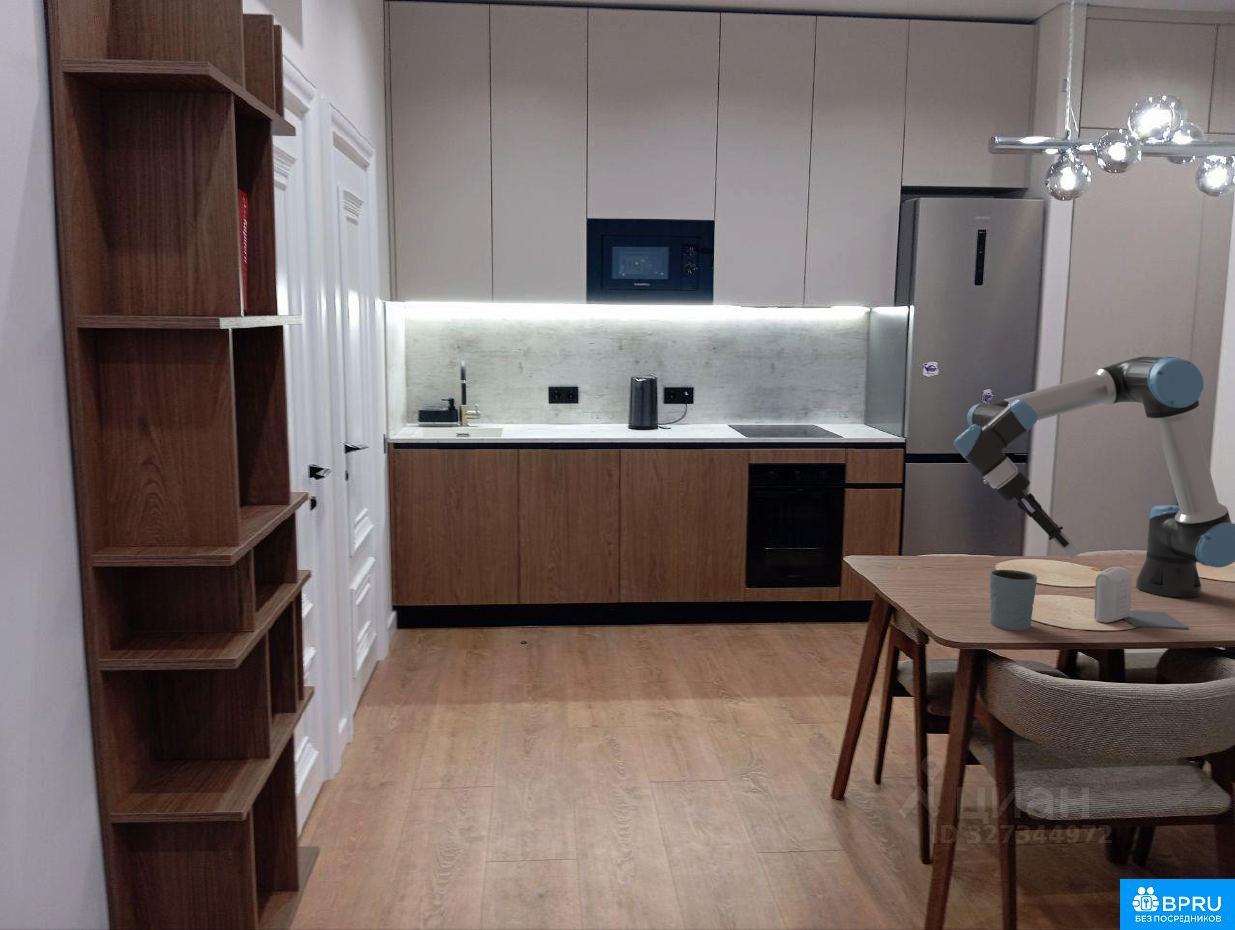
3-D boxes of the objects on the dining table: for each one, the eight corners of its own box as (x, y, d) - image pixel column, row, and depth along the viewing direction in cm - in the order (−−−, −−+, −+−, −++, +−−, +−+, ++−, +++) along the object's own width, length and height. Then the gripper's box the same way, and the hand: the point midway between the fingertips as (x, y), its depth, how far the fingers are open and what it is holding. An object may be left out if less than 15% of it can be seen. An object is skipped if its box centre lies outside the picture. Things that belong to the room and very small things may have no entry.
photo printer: (1115, 612, 237) (1117, 562, 235) (1133, 616, 233) (1135, 565, 232) (1091, 620, 231) (1092, 569, 230) (1108, 624, 227) (1110, 572, 226)
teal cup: (1009, 633, 219) (1013, 581, 218) (976, 620, 229) (980, 570, 227) (1043, 628, 223) (1047, 577, 222) (1009, 616, 233) (1013, 567, 231)
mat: (1164, 613, 238) (1164, 612, 238) (1188, 629, 226) (1189, 627, 226) (1112, 610, 240) (1112, 609, 240) (1134, 626, 227) (1134, 624, 227)
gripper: (994, 486, 244) (1061, 559, 241) (994, 494, 232) (1064, 570, 228) (1019, 467, 242) (1087, 540, 238) (1020, 473, 230) (1092, 550, 226)
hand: (1076, 555), depth 233 cm, fingers closed
